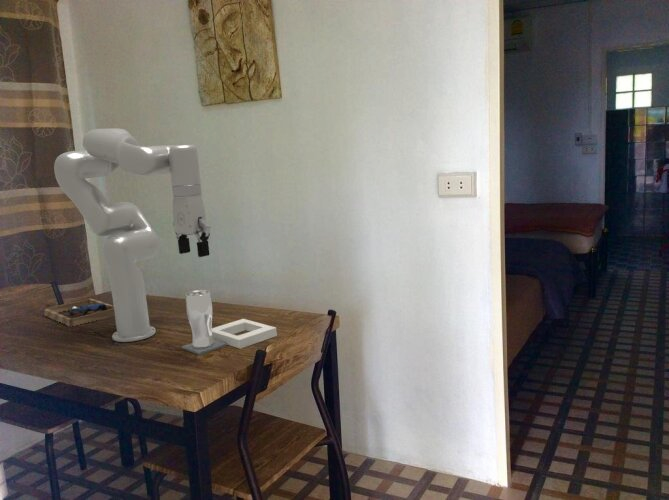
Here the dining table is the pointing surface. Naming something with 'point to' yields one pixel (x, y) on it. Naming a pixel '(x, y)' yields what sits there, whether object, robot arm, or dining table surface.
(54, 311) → the frame
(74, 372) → the dining table surface
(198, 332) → the beer glass
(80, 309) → the person figurine
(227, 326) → the holder board
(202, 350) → the coaster
